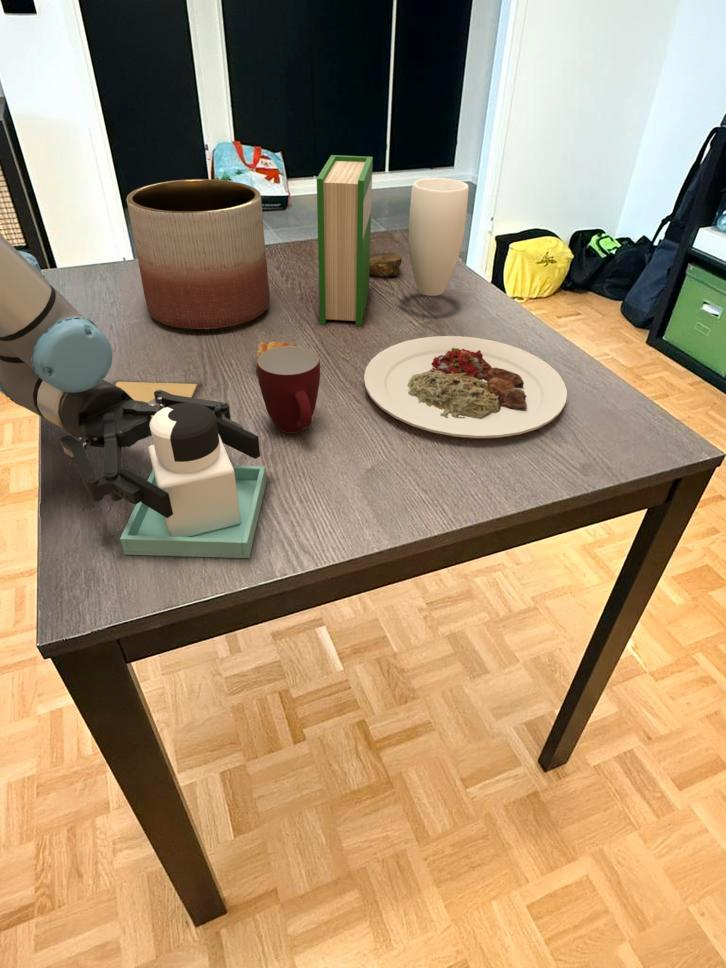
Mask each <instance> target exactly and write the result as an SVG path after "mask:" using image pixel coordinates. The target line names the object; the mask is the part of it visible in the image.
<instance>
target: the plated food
mask: <svg viewBox="0 0 726 968" xmlns="http://www.w3.org/2000/svg"><path fill="white" fill-rule="evenodd" d="M363 381H364V386H365V390H366V392H367V394H368V396H369V397H370V399H371V400H372V401H373V402H374V404H376V406H378V407H379V408H380V409H381V410H382V411H383V412H385V413H387V414H388V415H389V416H391V417H393V418H394V419H396V420H399V421H400V422H402V423H405V424H407V425H409V426H411V427H414V428H418V429H421V430H425V431H428V432H430V433H433V434H439V435H445V436H451V437H455V438H469V439H493V438H495V439H496V438H498V439H499V438H505V437H512V436H518V435H522V434H525V433H529V432H532V431H535V430H538V429H540V428H542V427H544V426H545V425H547V424H549V423H551V422H553V420H555V418H557V417H558V416H559V415H560V414H561V413H562V411H563V409H564V407H565V405H566V403H567V397H568V390H567V388H566V384H565V382H564V380H563V378H562V377H561V375H560V374H559V372H558V371H557V370H555V369H554V368H553V367H552V366H551V365H550V364H549V363H548V362H546V361H544V360H543V359H541V358H540V357H538V356H537V355H534V354H533V353H530V352H528V351H526V350H524V349H521V348H519V347H516V346H514V345H511V344H508V343H504V342H501V341H496V340H492V339H487V338H481V337H480V338H479V337H472V336H460V335H435V336H426V337H425V336H424V337H419V338H413V339H409V340H404V341H402V342H399V343H397V344H394V345H391V346H389V347H387V348H385V349H383V350H381V351H380V352H378V353H377V354H376V355H375V356H374V357H373V358H372V359H371V360H370V361H369V362H368V364H367V366H366V367H365V370H364V375H363Z"/></svg>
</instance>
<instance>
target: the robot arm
mask: <svg viewBox="0 0 726 968" xmlns="http://www.w3.org/2000/svg"><path fill="white" fill-rule="evenodd" d="M112 363H113V349H112V345H111V343H110V341H109V339H108V338H107V336H106V335H105V334H104V333H103V331H101V330H100V328H99V327H98V326H97V325H96V324H95V323H94V322H93V321H91V320H90V319H89V318H86V317H85V316H83V315H82V313H80V312H79V311H78V310H77V309H76V308H75V306H73V305H72V304H71V303H70V302H69V301H68V300H67V299H66V298H65V297H64V296H63V295H62V294H61V293H60V292H59V291H58V290H57V289H56V288H54V287H53V286H52V284H50V282H49V280H47V279H46V276H45V275H44V274H43V272H42V270H41V267H40V264H39V262H38V260H37V258H36V257H35V256H34V255H32V254H31V253H30V252H29V253H28V252H26V251H21V250H17V249H16V248H15V247H14V245H12V244H11V242H9V241H8V240H7V239H6V238H5V237H4V236H3V234H1V233H0V393H1V394H3V395H4V396H5V397H6V398H9V400H10V401H11V402H13V403H14V404H15V405H18V406H20V407H21V408H25V409H26V410H27V411H28V410H29V412H32V413H33V414H35V415H38V416H39V417H41V418H42V419H44V420H47V421H48V422H50V423H51V424H53V425H55V426H57V427H59V428H60V429H62V430H64V431H65V432H67V433H69V434H70V435H69V434H67V435H63V436H62V437H61V438H60V442H61V446H62V448H63V451H64V454H65V456H66V459H67V460H69V462H71V463H73V464H74V465H75V466H76V468H77V471H78V472H79V475H80V478H81V480H82V482H83V485H84V487H85V489H86V490H87V494H88V496H89V498H90V500H91V501H92V503H93V502H94V503H98V502H101V501H102V500H104V496H106V495H109V494H110V497H111V500H112V501H114V502H119V501H122V500H124V501H126V502H127V503H129V504H131V505H135V506H136V504H138V503H139V502H141V503H143V504H145V505H146V506H148V507H149V508H151V509H153V510H154V511H156V512H158V513H159V514H161V515H163V516H164V517H166V518H169V517H170V516H172V515H173V511H172V506H171V502H170V497H169V493H167V492H165V491H164V490H162V489H160V488H159V487H157V486H155V485H153V484H152V483H150V482H148V481H147V480H148V479H147V480H146V479H145V478H144V477H141V476H139V475H138V474H136V473H134V472H133V471H132V470H130V469H128V468H123V469H122V459H123V448H126V447H127V448H130V447H132V446H134V445H135V444H136V443H138V442H139V441H141V440H144V439H147V438H148V437H152V434H151V430H150V421H151V419H152V415H153V416H154V415H155V414H156V413H157V412H158V411H160V410H161V409H163V408H165V407H167V406H170V405H174V404H179V403H197V404H201V405H204V406H206V407H208V408H209V409H210V410H212V411H213V412H214V413H215V415H216V421H217V428H218V434H219V435H220V438H221V440H222V442H223V445H226V446H228V447H230V448H232V449H234V450H236V451H237V452H240V453H242V454H244V455H246V456H248V457H250V458H252V459H254V460H257V459H258V458H260V457H261V449H260V439H259V435H257V434H255V433H252V432H250V431H248V430H247V429H244V426H243V425H242V424H240V423H238V422H236V421H233V420H232V419H231V411H230V404H229V403H227V402H222V401H217V400H209V399H203V398H197V397H192V398H191V397H185V396H178V395H172V394H170V393H168V392H165V391H163V390H157V391H155V392H154V396H155V398H154V399H153V400H151V401H149V402H147V403H146V402H144V401H136V400H134V399H132V398H131V397H130V396H129V395H128V394H127V393H126V392H125V391H124V390H123V389H121V388H119V387H117V386H115V385H116V384H113V383H111V382H108V381H107V380H105V378H106V377H107V375H108V374H109V372H110V370H111V367H112ZM88 447H92V448H104V475H103V476H100V477H98V475H97V473H96V471H95V468H94V467H93V464H92V462H91V460H90V458H89V456H88V452H89V448H88Z"/></svg>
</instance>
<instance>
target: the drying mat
mask: <svg viewBox="0 0 726 968" xmlns="http://www.w3.org/2000/svg"><path fill="white" fill-rule="evenodd" d="M114 385H115V386H117V387H119V388H121V389H123V390H124V391H125V392H126V393H127V394H128V395H129V396H130V397H131V398H132V399H134V400H136V401H144V402H146V403H147V402H149V401H151V400H153V399H154V398H155V396H154V392H155V391H157V390H163V391H165V392H168V393H170V394H172V395H178V396H185V397H191V398H194V395H195V393H196V390H197V388H198V383H175V382H145V381H143V382H142V381H140V382H139V381H116V383H115V384H114ZM152 418H153V415H152Z"/></svg>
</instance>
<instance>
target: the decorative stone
mask: <svg viewBox="0 0 726 968" xmlns="http://www.w3.org/2000/svg"><path fill="white" fill-rule="evenodd" d="M402 262H403V257H402V255H401V254H399V253H397V252H381V253H380V252H379V253H370V270H369V276H374V277H381V278H384V279H385V278H386V279H387V278H390V277H394V276H395V277H396V276H397V274H398V273H399V268H400V266H401V265H402Z"/></svg>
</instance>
